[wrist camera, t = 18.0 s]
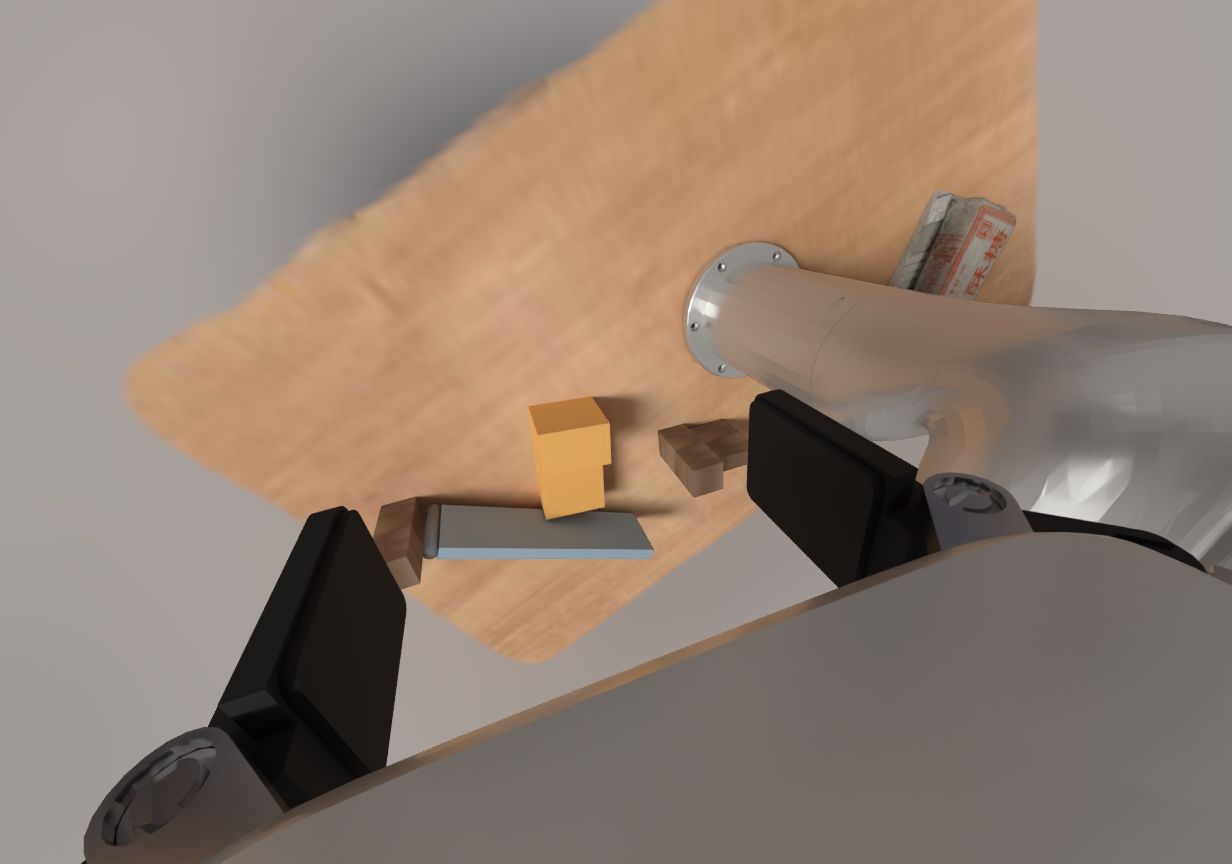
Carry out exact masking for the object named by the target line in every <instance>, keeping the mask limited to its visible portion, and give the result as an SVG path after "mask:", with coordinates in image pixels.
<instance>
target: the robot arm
mask: <svg viewBox="0 0 1232 864" xmlns="http://www.w3.org/2000/svg"><path fill="white" fill-rule="evenodd" d="M718 265H719V268H718ZM692 324H693V326H692V327H691V325H692ZM683 331H684V336H685V342H686V344H687V347H688V349H689V352H690V353H691V355H692V356H693V358H694V359H695V361H697V362H698V363H699V364H700V365H701V366H702V367H703V368H705V369H706V370H708V371H709V372H711V373H713V374H715V375H717V376H720V377H726V378H741V377H745V376H749V377H751V378H752V379H754V380H756V381H757V382H759V383H761V384H762V385H764V386H766V387H767V388H769V389H771V390H772V391H769V392H765V393H762V394H758V395H757V396H756V398H755V400H754V401H753V402H752V403H751V405H750V412H749V438H748V465H747V491H748V494H749V496H750V498H751V499H752V500H753V501H754V502H755V503H756V504H757V505H758V506H759V507H760V508H761V509H762V511H763V512H764V513H765V514H767V516H768V517H769V518H770V519H771V520H772V521H773V522H774V523H775V524H776V525H777V526H778V527H779V528H780V529H781V530H782V531H783V532H784V533H785V534H786V535H787V536H788V537H789V538H790V539H791V540H792V541H793V542H794V543H795V544H796V545H797V546H798V547H799V548H800V549H801V550H802V551H803V552H804V553H805V554H806V555H807V556H808V557H809V558H810V559H811V560H812V561H813V562H814V563H815V564H816V565H817V566H818V567H819V568H820V569H821V571H823V573H825V575H826V576H827V577H829V579H830V580H831V581H832V582H833V583H834V584H835V585H836V586H837V587H838V589H835V590H832V591H830V592H827V593H825V594H822V595H820V596H817V597H814V598H812V599H809V600H806V601H804V602H801V603H798V604H796V605H793V606H791V607H788V608H786V609H783V610H780V611H778V612H775V613H772V614H770V615H767V616H765V617H762V618H759V619H757V620H754V621H752V622H749V623H746V624H744V625H741V626H739V627H736V628H734V629H731V630H728V631H726V632H723V633H721V634H718V635H716V636H713V637H710V638H708V639H705V640H703V641H700V642H698V643H695V644H693V645H690V646H687V647H685V648H682V649H680V650H677V651H674V652H672V653H669V654H667V655H664V656H662V657H659V658H657V659H654V660H651V661H649V662H647V663H644V664H641V665H639V666H636V667H634V668H631V669H629V670H626V671H623V672H621V673H618V674H616V675H613V676H611V677H608V678H605V679H603V680H600V681H598V682H596V683H593V684H590V685H588V686H585V687H583V688H580V689H578V690H575V691H573V692H570V693H568V694H565V695H563V696H560V697H557V698H555V699H552V700H550V701H547V702H545V703H543V704H540V705H537V706H535V707H532V708H530V709H527V710H525V711H522V712H520V713H517V714H515V715H512V716H510V717H507V718H505V719H502V720H500V721H497V722H495V723H492V724H490V725H487V726H485V727H482V728H479V729H477V730H474V731H472V732H469V733H467V734H464V735H462V736H459V737H457V738H455V739H452V740H450V741H447V742H445V743H442V744H440V745H437V746H435V747H433V748H430V749H428V750H426V751H423V752H421V753H419V754H416V755H413V756H411V757H409V758H406V759H404V760H401V761H399V762H396V763H394V764H392V765H389V766H387V767H386V763H387V756H388V748H389V740H390V733H391V725H392V718H393V710H394V702H395V695H396V687H397V680H398V672H399V664H400V657H401V649H402V641H403V634H404V626H405V618H406V602H405V598H404V595H403V593H402V591H401V589H400V588H399V586H398V584H397V582H396V580H395V578H394V577H393V575H392V573H391V571H390V569H389V567H388V566H387V564H386V562H385V560H384V558H383V556H382V555H381V553H380V551H379V549H378V547H377V545H376V543H375V542H374V540H373V538H372V536H371V534H370V532H369V531H368V529H367V527H366V525H365V523H364V521H363V520H362V518H361V516H360V514H359V513H358V512H357V511H356V510H351V511H348V509H346V508H345V507H344V506H339V507H335V508H332V509H328V510H324V511H320V512H317V513H313V514H311V515H310V516H309V517H308V519H307V521H306V523H305V525H304V527H303V529H302V531H301V533H300V535H299V538H298V540H297V542H296V544H295V546H294V548H293V550H292V552H291V554H290V556H289V558H288V560H287V562H286V565H285V567H284V569H283V571H282V573H281V575H280V577H279V579H278V581H277V583H276V585H275V588H274V589H273V592H272V593H271V596H270V598H269V600H268V602H267V604H266V606H265V608H264V610H263V613H262V614H261V616H260V618H259V620H258V623H257V625H256V627H255V629H254V631H253V633H252V635H251V637H250V639H249V641H248V644H247V645H246V647H245V649H244V652H243V654H242V656H241V658H240V660H239V662H238V664H237V666H236V668H235V670H234V672H233V674H232V677H231V678H230V681H229V683H228V685H227V687H226V689H225V691H224V693H223V695H222V697H221V699H220V701H219V703H218V707H217V709H216V711H215V713H214V715H213V717H212V719H211V721H210V723H209V725H208V727H202V728H199V729H195V730H192V731H188V732H186V733H183V734H181V735H179V736H177V737H176V738H173V739H171V740H170V741H168V742H166V743H164V744H163V745H161V746H160V747H159V748H157V749H156V750H154V751H153V752H151V753H150V754H148V755H147V756H146V757H144V758H143V759H142V760H141V761H140V762H139V763H138V764H136V765H135V766H134V767H133V768H132V769H131V770H130V771H129V772H127V773H126V774H125V775H124V776H123V777H122V779H121V780H120V781H119V782H118V783H117V784H116V785H115V786H114V787H113V789H112V790H111V791H110V792H109V793H108V794H107V795H106V797H105V798H104V800H103V801H102V803H101V804H100V806H99V807H98V809H97V810H96V812H95V813H94V815H93V816H92V818H91V821H90V823H89V826H88V828H87V831H86V833H85V836H84V856H85V859H86V860H85V861H84V862H83V863H81V864H1232V326H1230V325H1226V324H1222V323H1217V322H1212V321H1207V320H1201V319H1196V318H1191V317H1186V316H1177V315H1168V314H1157V313H1147V312H1134V311H1112V310H1090V309H1089V310H1088V309H1067V308H1047V307H1031V306H1019V305H1008V304H996V303H986V302H980V301H973V300H966V299H960V298H953V297H947V296H940V295H934V294H929V293H923V292H918V291H913V290H908V289H902V288H896V287H891V286H885V285H880V284H875V283H870V282H865V281H860V280H855V279H849V278H844V277H839V276H834V275H829V274H824V273H819V272H813V271H808V270H803V269H800V268H799V266H798V264H797V263H796V261H795V260H794V258H793V257H792V256H791V255H790V254H789V253H788V252H786V251H785V250H784V249H783V248H780V247H778V246H776V245H774V244H770V243H765V242H752V241H751V242H745V243H740V244H737V245H734V246H732V247H730V248H727V249H726V250H724V251H723V252H721V253H720V254H718V255H717V256H715V257H714V258H713V259H712V260H711V261H710V262H709V263H708V264H707V265H706V266H705V267H704V268H703V270H702V271H701V272H700V274H699V275H698V276H697V278H696V280H695V282H694V284H693V286H692V287H691V289H690V292H689V295H688V298H687V301H686V304H685V309H684V315H683ZM927 434H929V436H930V437H929V442H928V446H927V448H926V451H925V453H924V455H923V458H922V460H921V462H920V464H919V469H918V468H916V467H914V466H913V465H911V464H909V463H907V462H906V461H904V460H902V459H901V458H899V457H897V456H895V455H894V454H892V453H890V452H888V451H887V450H885V449H883V448H882V447H880V446H878V445H876V444H875V443H873V442H871V441H894V440H902V439H908V438H913V437H918V436H923V435H927Z"/></svg>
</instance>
